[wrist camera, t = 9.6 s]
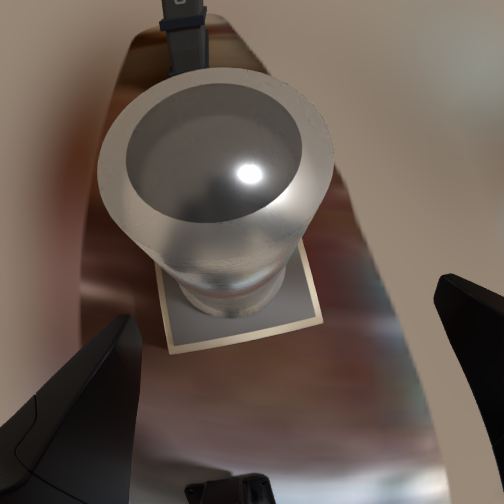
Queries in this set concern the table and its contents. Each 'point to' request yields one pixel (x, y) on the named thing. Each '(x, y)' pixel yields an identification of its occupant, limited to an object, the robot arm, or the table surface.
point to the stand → (242, 329)
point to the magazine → (185, 35)
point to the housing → (218, 182)
